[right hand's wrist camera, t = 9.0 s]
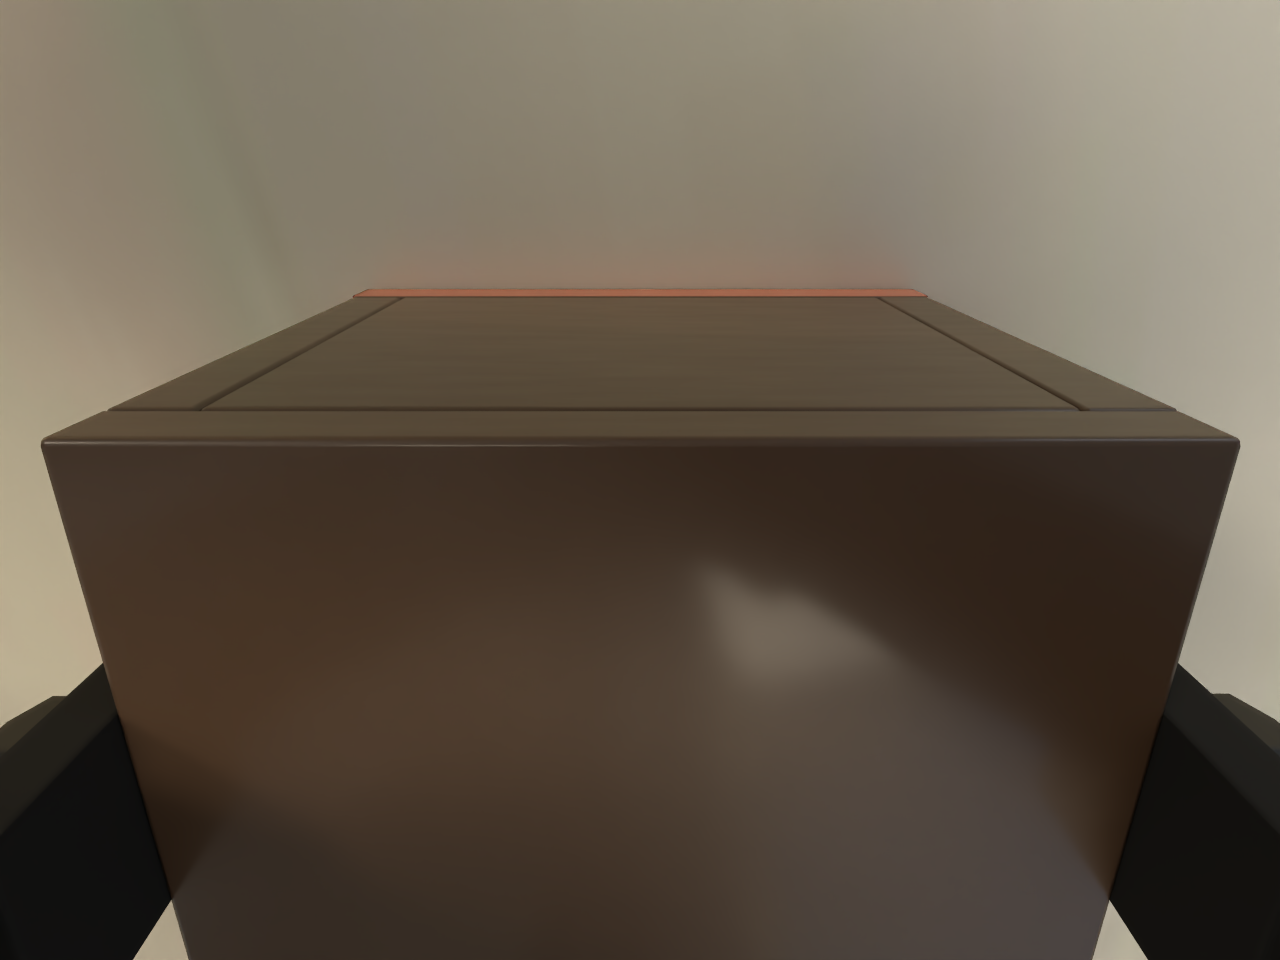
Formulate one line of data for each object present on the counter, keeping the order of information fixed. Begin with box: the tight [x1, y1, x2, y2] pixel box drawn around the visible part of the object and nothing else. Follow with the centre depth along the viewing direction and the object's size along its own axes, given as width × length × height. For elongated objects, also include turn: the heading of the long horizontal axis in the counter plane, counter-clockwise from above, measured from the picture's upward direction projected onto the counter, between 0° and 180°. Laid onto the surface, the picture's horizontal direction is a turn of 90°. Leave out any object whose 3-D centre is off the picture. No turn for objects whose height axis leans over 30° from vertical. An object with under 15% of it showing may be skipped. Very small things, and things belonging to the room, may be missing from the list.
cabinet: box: [41, 289, 1240, 960], centre depth 15 cm, size 18×11×10 cm, turn 0°
